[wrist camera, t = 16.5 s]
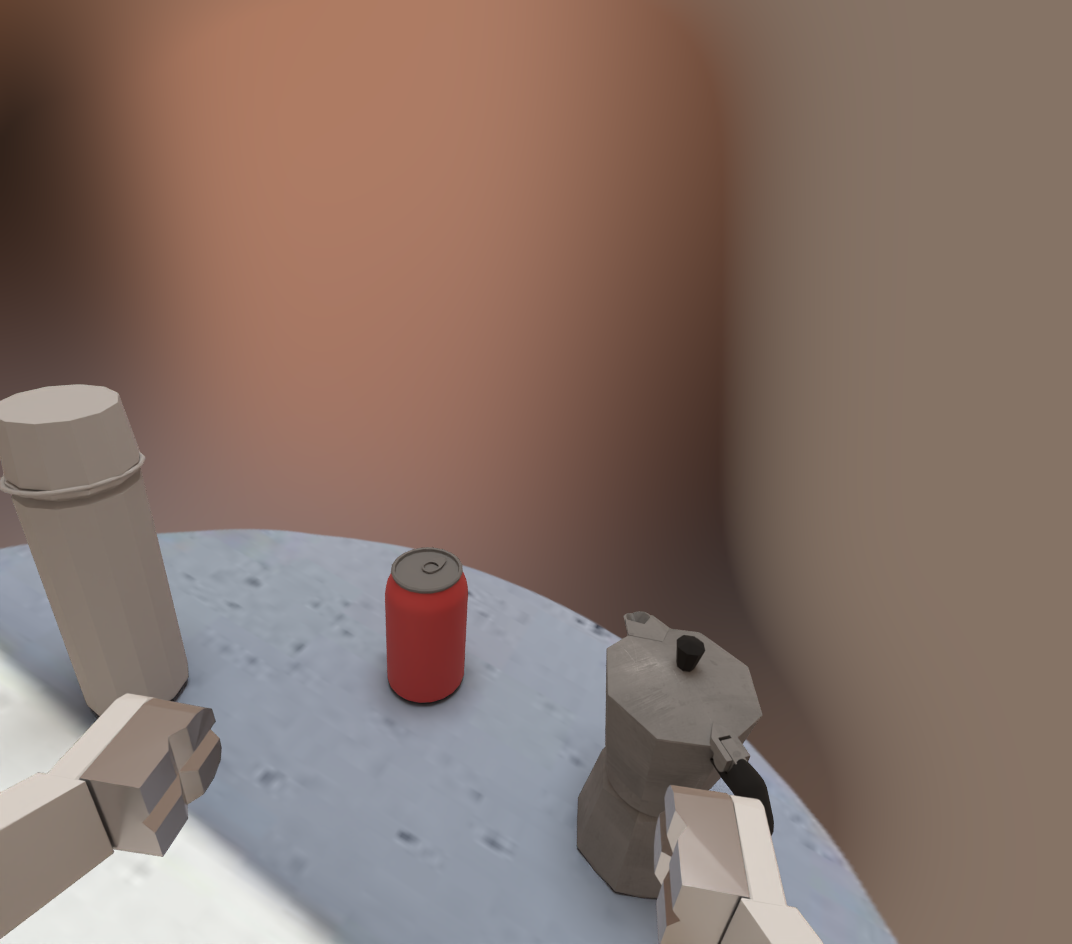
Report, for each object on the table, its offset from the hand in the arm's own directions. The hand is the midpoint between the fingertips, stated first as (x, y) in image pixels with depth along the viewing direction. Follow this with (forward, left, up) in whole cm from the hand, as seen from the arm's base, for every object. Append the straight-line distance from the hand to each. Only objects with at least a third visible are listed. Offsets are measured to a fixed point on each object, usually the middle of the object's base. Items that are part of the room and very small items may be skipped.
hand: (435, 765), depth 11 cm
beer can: (+19, +25, -32) cm, 45 cm away
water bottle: (+1, +40, -32) cm, 52 cm away
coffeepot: (+21, +3, -32) cm, 39 cm away
